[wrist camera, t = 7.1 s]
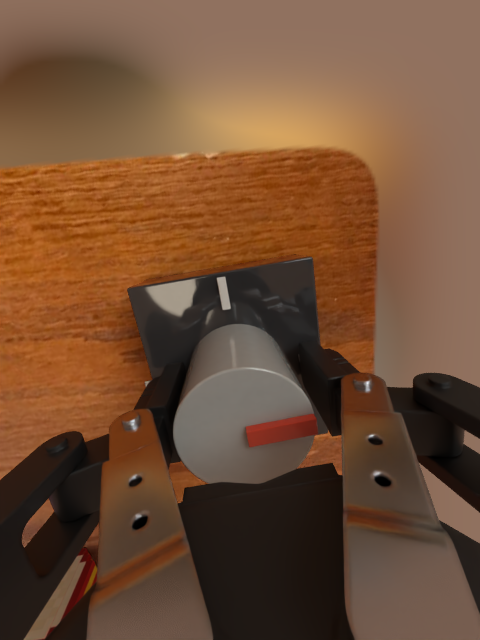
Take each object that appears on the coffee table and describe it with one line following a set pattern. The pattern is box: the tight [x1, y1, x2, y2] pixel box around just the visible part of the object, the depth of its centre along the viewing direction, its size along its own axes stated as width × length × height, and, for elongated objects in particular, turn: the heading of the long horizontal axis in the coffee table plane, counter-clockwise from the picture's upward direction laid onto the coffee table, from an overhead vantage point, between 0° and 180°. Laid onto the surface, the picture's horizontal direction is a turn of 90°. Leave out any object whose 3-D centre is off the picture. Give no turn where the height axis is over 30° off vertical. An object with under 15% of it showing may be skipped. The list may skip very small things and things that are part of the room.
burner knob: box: [173, 324, 318, 484], centre depth 10 cm, size 4×4×5 cm
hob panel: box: [127, 254, 328, 435], centre depth 14 cm, size 9×9×3 cm
